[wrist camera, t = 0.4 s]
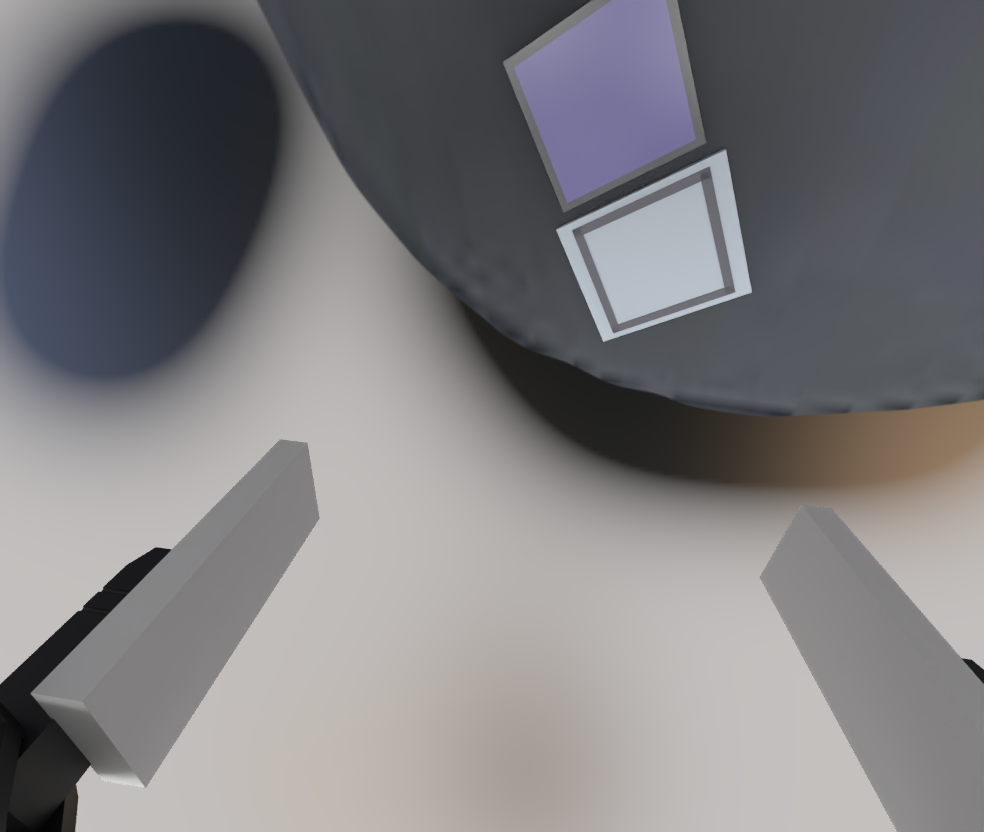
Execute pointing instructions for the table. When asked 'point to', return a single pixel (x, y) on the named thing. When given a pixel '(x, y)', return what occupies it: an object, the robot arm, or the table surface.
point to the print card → (660, 249)
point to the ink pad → (608, 95)
